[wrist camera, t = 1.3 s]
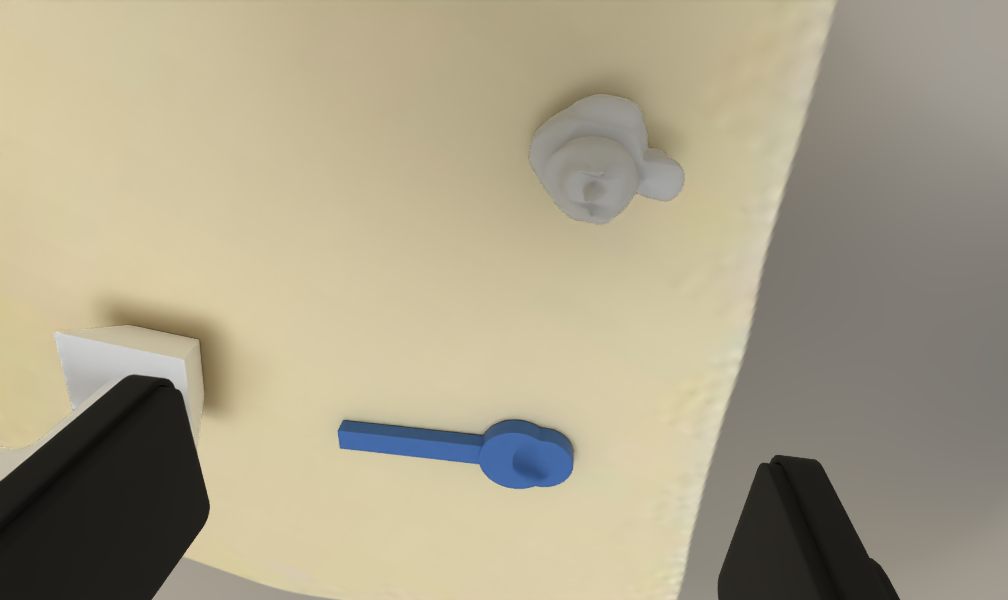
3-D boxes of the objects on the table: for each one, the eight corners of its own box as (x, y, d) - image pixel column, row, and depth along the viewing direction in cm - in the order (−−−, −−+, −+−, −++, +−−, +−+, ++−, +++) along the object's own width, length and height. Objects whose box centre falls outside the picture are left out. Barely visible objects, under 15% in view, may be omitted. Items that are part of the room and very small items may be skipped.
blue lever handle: (346, 455, 38) (340, 468, 37) (340, 400, 36) (333, 413, 35) (569, 481, 37) (569, 495, 36) (577, 426, 35) (577, 439, 34)
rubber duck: (545, 74, 26) (534, 107, 19) (691, 103, 26) (735, 148, 19) (521, 190, 28) (504, 257, 21) (654, 217, 28) (680, 294, 21)
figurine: (244, 420, 38) (68, 652, 25) (103, 390, 38) (-147, 606, 25) (239, 328, 34) (30, 542, 21) (83, 295, 34) (-221, 488, 21)
